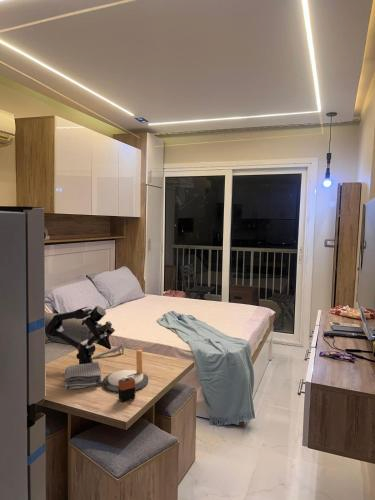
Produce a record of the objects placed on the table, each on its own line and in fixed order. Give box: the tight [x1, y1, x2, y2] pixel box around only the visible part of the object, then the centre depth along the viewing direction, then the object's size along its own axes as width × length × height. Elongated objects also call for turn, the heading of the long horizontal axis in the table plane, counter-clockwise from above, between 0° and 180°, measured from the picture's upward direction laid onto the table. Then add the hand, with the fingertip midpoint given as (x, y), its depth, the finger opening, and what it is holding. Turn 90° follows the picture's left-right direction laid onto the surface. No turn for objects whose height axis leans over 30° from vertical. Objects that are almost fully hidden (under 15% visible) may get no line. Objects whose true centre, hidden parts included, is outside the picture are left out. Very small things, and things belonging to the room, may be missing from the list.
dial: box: [108, 349, 143, 387], centre depth 185 cm, size 18×18×13 cm
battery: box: [118, 377, 136, 403], centre depth 168 cm, size 4×7×10 cm, turn 123°
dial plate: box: [102, 371, 149, 394], centre depth 185 cm, size 23×23×2 cm
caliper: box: [92, 343, 125, 360], centre depth 221 cm, size 20×1×6 cm, turn 120°
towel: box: [64, 361, 103, 391], centre depth 185 cm, size 15×18×8 cm
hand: (110, 348), depth 196 cm, fingers closed
